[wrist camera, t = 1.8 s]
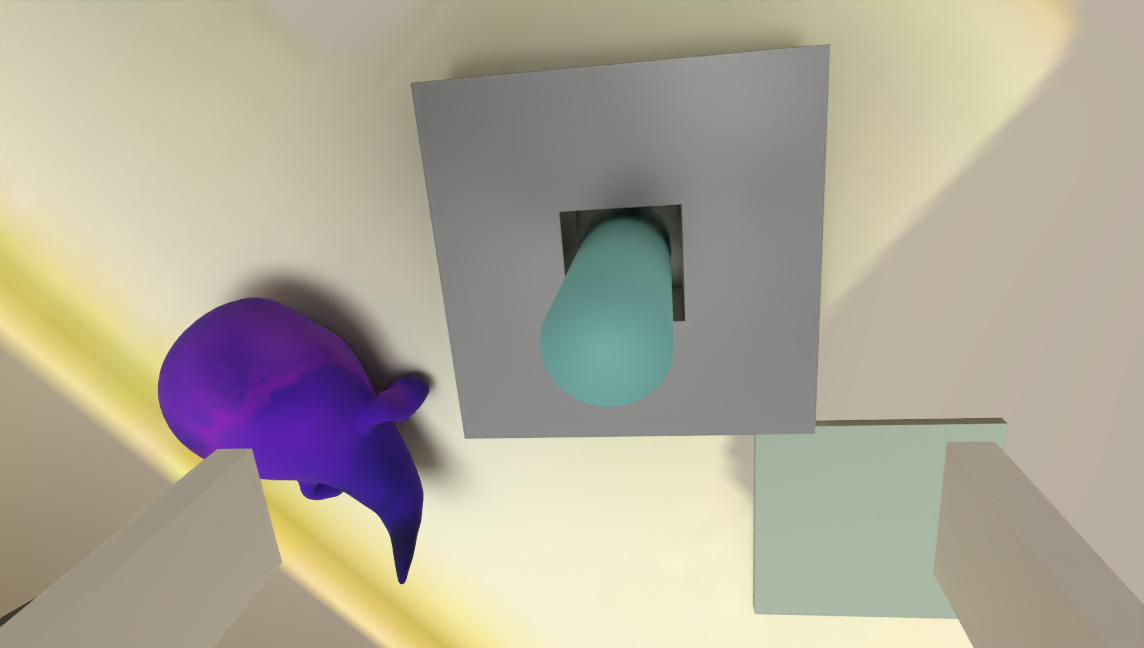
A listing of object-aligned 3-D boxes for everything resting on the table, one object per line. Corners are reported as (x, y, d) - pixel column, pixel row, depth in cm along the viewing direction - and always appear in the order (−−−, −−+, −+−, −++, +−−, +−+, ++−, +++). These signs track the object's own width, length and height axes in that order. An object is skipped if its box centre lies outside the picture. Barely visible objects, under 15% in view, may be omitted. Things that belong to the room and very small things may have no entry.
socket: (447, 81, 32) (410, 82, 27) (803, 49, 30) (829, 44, 25) (489, 393, 37) (464, 438, 33) (794, 386, 35) (815, 433, 30)
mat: (754, 421, 36) (755, 427, 35) (1002, 417, 34) (1007, 423, 34) (753, 606, 40) (754, 613, 39) (975, 611, 38) (979, 619, 38)
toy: (493, 416, 39) (271, 243, 35) (461, 532, 30) (161, 319, 27) (403, 503, 42) (189, 351, 38) (350, 632, 33) (65, 452, 29)
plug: (585, 202, 33) (533, 284, 20) (668, 197, 32) (671, 278, 19) (591, 281, 34) (546, 408, 21) (671, 278, 34) (676, 405, 21)
